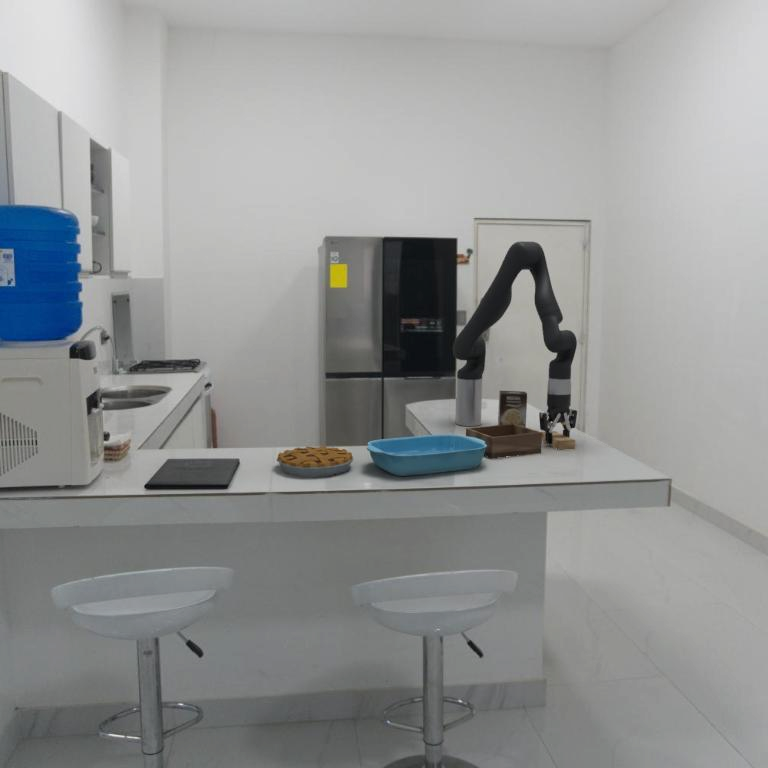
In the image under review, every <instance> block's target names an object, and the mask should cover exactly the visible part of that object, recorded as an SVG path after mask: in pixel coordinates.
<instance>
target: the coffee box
mask: <svg viewBox="0 0 768 768" xmlns="http://www.w3.org/2000/svg"><path fill="white" fill-rule="evenodd" d="M498 393H499V396H498V398H499V399H498V412H497V414H498V417H497V418H498V419H497V425H505V424H516V425H519V426H523V427H526V428H527V424H526V423H527V409H528V408H527V406H528V393H527V392H526V391H521V390H520V391H518V390H517V391H516V390H499V391H498Z"/></svg>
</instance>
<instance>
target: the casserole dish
mask: <svg viewBox="0 0 768 768" xmlns="http://www.w3.org/2000/svg"><path fill="white" fill-rule="evenodd" d="M486 447H487V445H486V444H485V441H483V440H481V439H478V438H474V437H468V436H466V435H461V434H456V433H455V434H453V433H451V434H450V433H449V434H448V433H447V434H446V433H445V434H443V433H442V434H429V435H419V436H418V435H417V436H405V437H404V436H403V437H394V438H383V439H375V440H371V441H368V442H367V447H366V449H367V451H368V452H369V453H370V457H371V459H372V462H373V463H374V464H375V465H376V466H378V468H380V469H381V470H384V471H385V472H388V473H389V474H390V475H391V474H392V475H394V476H399V477H400V476H402V477H405V476H406V477H407V476H419V475H428V474H429V475H430V474H439V473H448V472H447V471H450V472H456V471H457V470H458V471H463V469H465V470H469V468H471V469H474V467H475V468H476V467H477V466H479V465H480V463H481V462H482V460H483V458H484V457H485V456H484V453H485V450H486Z"/></svg>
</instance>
